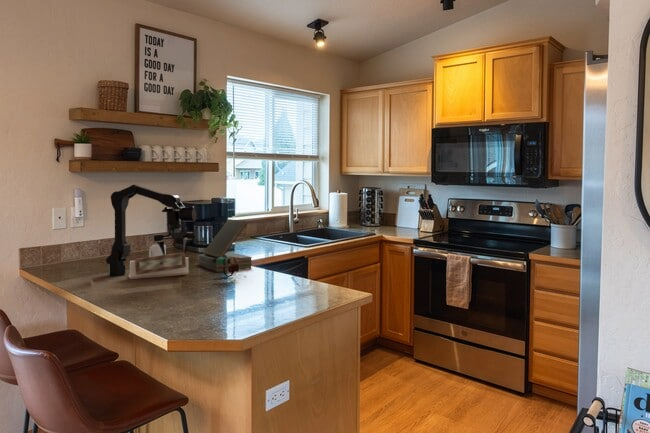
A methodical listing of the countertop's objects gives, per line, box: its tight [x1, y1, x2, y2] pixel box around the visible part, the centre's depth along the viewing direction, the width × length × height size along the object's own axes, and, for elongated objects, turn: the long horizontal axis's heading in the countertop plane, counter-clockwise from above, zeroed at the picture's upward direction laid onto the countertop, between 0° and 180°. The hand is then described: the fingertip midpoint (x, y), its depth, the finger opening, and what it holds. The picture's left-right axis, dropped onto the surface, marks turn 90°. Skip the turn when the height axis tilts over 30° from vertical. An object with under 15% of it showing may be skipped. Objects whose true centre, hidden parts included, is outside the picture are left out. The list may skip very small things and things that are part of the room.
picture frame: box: [134, 251, 186, 275], centre depth 220 cm, size 22×2×7 cm, turn 121°
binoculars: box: [213, 255, 240, 277], centre depth 224 cm, size 9×11×10 cm
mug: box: [148, 243, 167, 257], centre depth 247 cm, size 10×7×12 cm, turn 66°
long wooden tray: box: [128, 256, 190, 280], centre depth 224 cm, size 26×6×8 cm, turn 121°
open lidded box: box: [198, 218, 253, 273], centre depth 251 cm, size 23×20×25 cm
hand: (174, 254), depth 223 cm, fingers open, 9 cm apart
